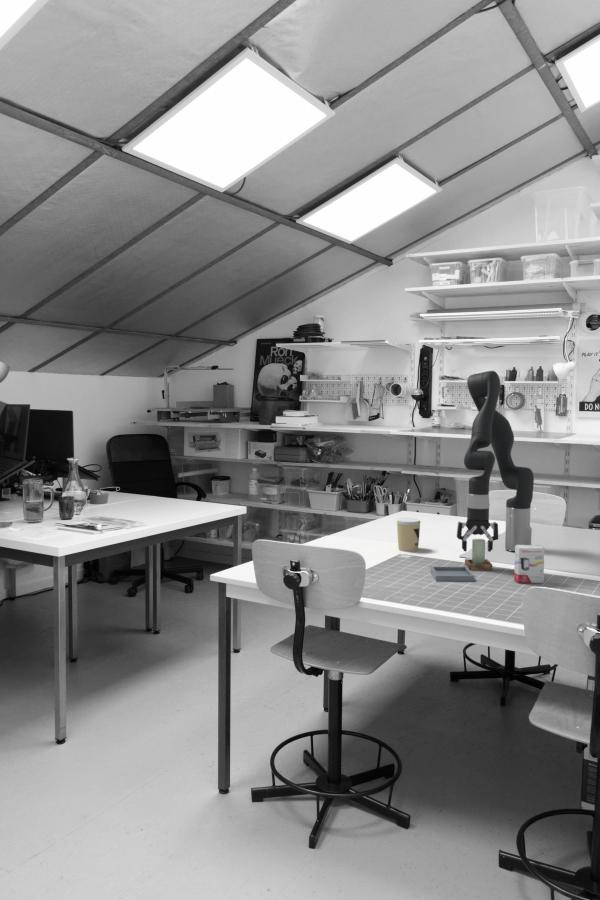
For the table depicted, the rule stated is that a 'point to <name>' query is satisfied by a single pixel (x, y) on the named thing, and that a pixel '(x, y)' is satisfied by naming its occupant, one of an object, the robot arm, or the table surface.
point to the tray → (451, 573)
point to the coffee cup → (408, 534)
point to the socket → (478, 565)
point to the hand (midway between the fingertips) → (477, 551)
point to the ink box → (529, 564)
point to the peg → (478, 551)
